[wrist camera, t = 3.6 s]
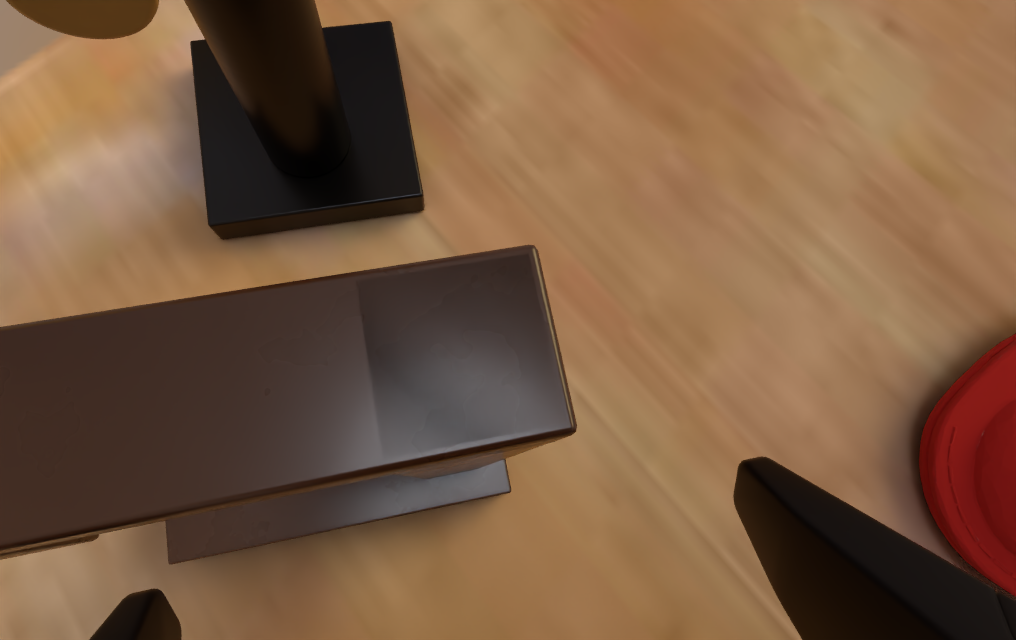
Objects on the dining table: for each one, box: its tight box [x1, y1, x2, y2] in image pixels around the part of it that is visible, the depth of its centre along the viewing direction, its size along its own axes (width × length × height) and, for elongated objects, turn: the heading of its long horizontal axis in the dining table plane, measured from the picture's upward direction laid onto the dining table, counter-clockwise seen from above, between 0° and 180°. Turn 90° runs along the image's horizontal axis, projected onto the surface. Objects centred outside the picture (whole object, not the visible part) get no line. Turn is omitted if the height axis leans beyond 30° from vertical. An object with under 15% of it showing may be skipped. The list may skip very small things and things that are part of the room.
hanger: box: [0, 245, 577, 564], centre depth 12 cm, size 3×9×14 cm, turn 101°
